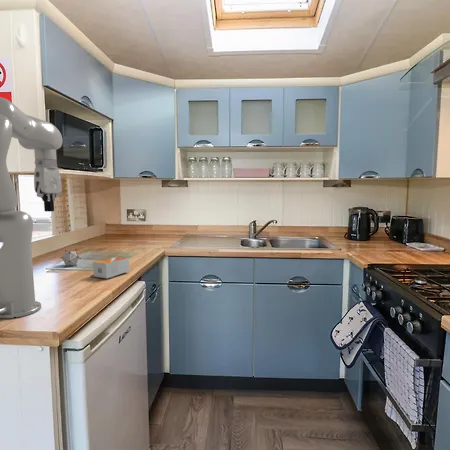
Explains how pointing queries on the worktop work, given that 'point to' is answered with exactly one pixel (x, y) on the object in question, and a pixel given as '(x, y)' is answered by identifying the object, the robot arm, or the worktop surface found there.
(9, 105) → the robot arm
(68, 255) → the game die
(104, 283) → the worktop surface
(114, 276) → the rubber mat
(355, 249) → the worktop surface
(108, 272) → the small box
